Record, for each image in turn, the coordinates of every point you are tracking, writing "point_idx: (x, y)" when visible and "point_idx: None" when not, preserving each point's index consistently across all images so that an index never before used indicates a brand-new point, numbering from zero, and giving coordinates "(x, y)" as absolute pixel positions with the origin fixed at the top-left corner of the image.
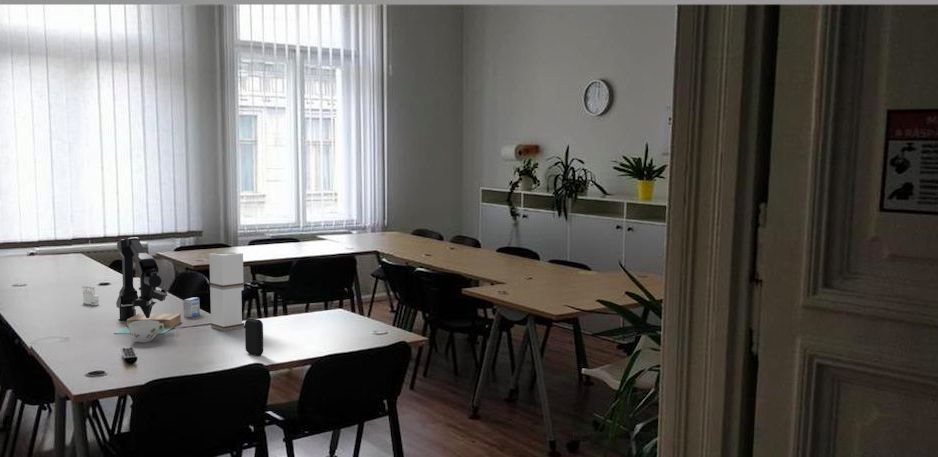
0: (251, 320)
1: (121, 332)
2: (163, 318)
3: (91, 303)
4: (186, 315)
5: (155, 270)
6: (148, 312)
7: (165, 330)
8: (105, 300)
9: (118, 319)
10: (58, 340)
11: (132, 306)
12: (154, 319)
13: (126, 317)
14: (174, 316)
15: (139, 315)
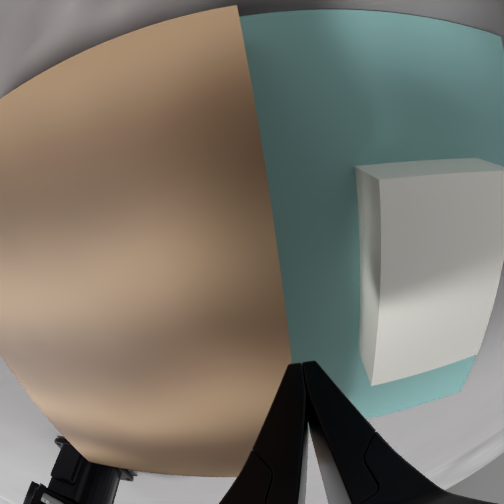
0: None
1: (457, 368)
2: (151, 183)
3: (45, 500)
4: None
5: None
6: (367, 424)
7: (407, 34)
8: (9, 479)
9: (132, 480)
10: (495, 443)
11: (64, 498)
12: (263, 285)
13: (110, 471)
14: (1, 117)
15: (127, 456)
